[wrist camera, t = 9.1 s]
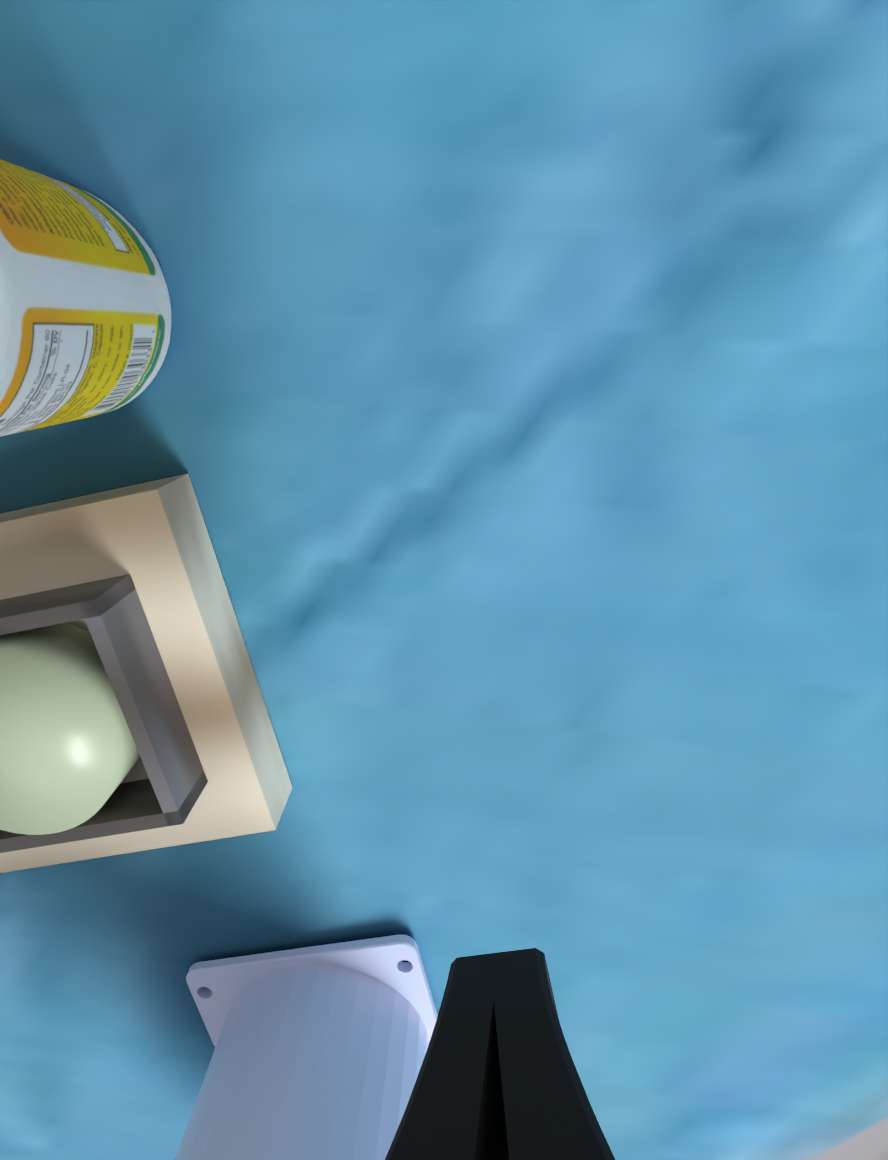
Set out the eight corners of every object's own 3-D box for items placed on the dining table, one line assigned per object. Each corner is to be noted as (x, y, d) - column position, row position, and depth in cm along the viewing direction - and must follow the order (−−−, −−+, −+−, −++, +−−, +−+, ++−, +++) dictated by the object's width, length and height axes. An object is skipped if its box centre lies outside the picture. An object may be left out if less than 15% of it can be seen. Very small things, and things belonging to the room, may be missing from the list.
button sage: (177, 771, 20) (146, 818, 18) (9, 799, 20) (-39, 848, 18) (112, 603, 18) (70, 635, 16) (-68, 638, 19) (-130, 674, 17)
